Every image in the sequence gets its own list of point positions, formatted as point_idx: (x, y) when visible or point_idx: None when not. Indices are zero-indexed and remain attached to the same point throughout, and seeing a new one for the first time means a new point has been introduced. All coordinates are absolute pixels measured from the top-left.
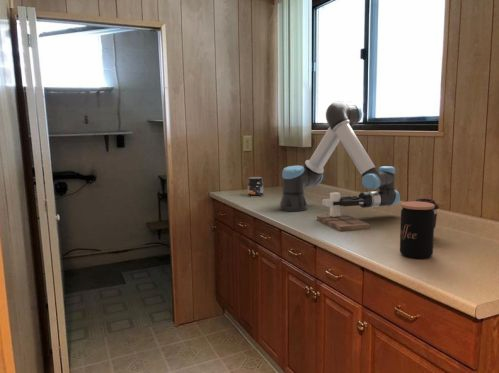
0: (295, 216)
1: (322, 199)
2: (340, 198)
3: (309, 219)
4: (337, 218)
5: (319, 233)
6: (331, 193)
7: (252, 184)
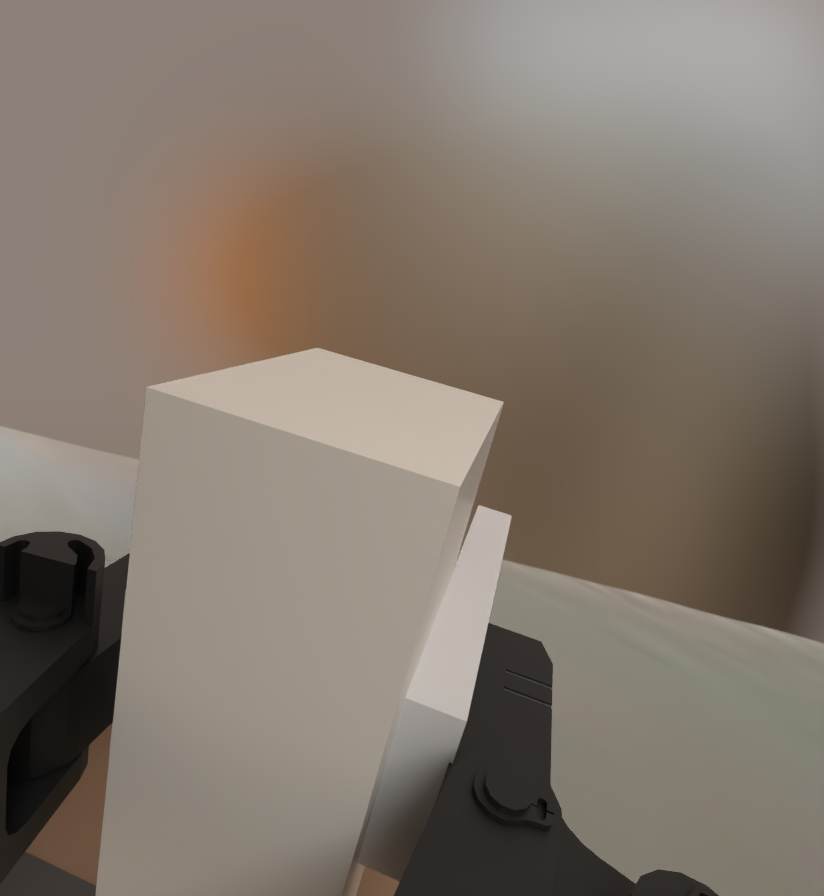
0: (804, 796)
1: (510, 515)
2: (125, 614)
3: (573, 787)
4: (77, 869)
5: (70, 488)
6: (398, 373)
7: None
